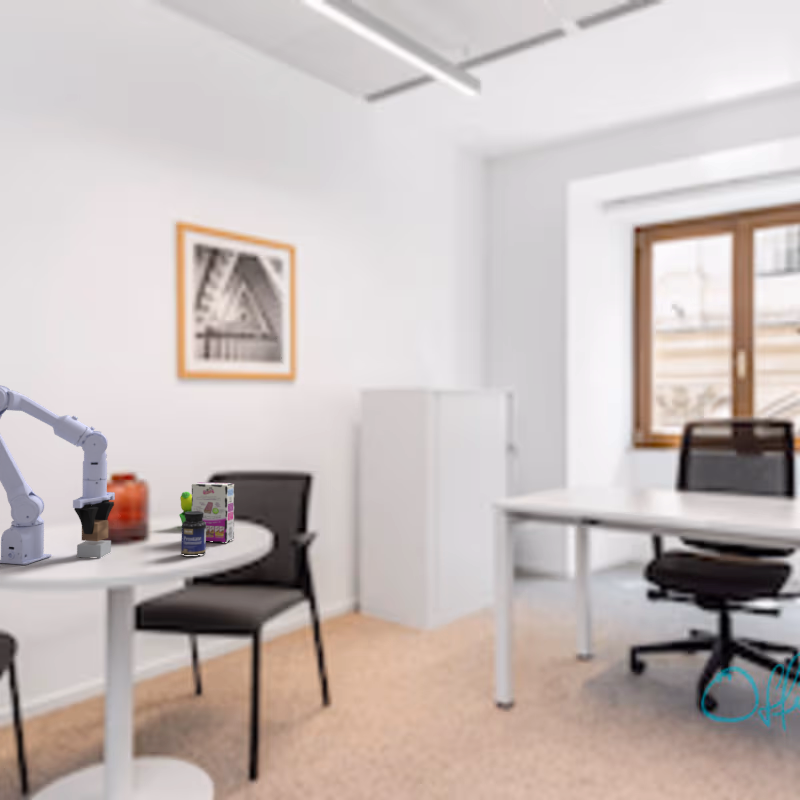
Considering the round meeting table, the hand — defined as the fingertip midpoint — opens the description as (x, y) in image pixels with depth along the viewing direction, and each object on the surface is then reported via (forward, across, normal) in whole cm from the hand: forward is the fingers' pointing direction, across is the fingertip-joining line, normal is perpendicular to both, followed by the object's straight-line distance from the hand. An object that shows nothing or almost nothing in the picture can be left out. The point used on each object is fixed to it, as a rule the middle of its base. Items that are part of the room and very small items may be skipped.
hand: (94, 531), depth 181 cm
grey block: (+6, 0, 0) cm, 6 cm away
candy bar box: (+6, +24, -21) cm, 32 cm away
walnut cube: (+2, 0, 0) cm, 2 cm away
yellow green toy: (+6, +40, -7) cm, 41 cm away
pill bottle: (+6, +7, -24) cm, 26 cm away
